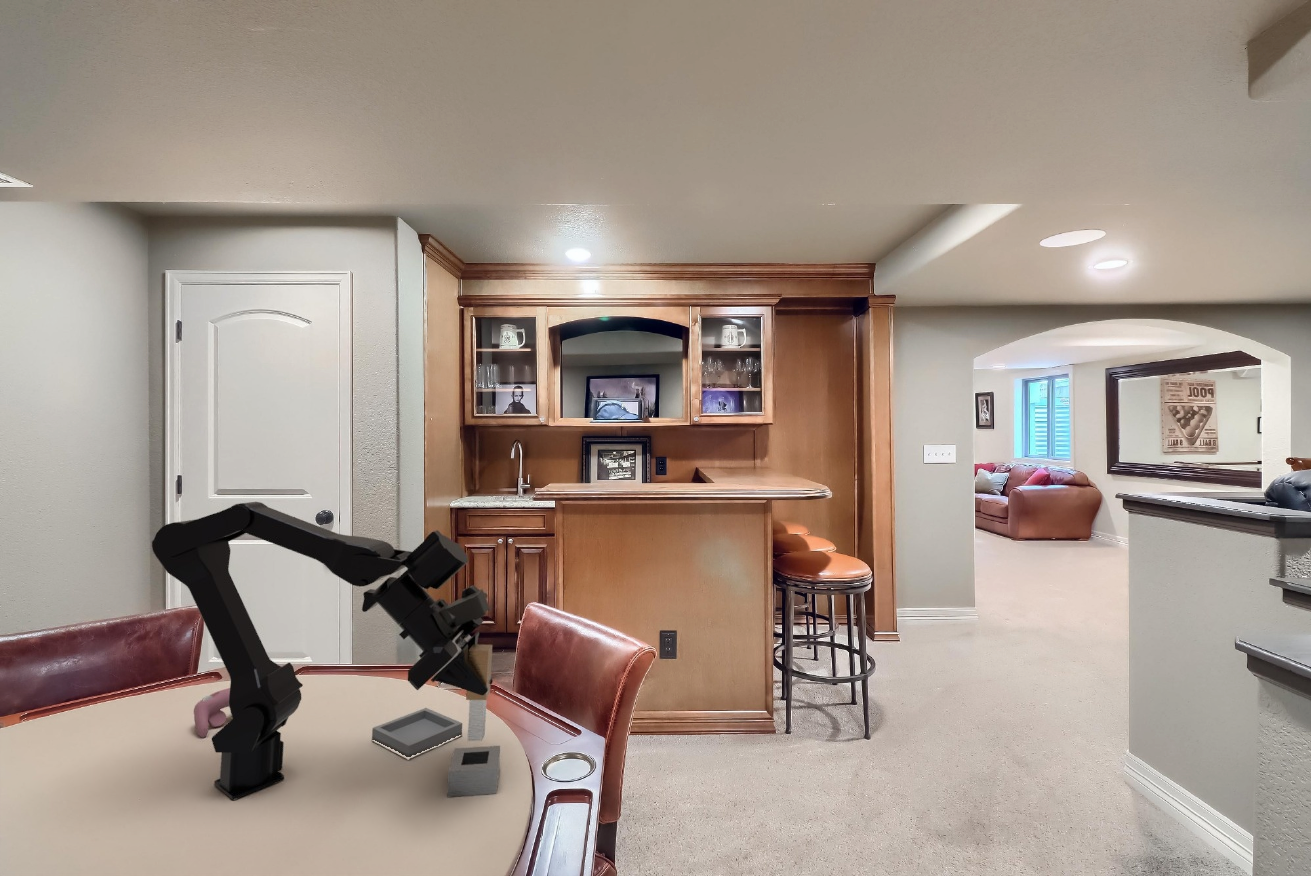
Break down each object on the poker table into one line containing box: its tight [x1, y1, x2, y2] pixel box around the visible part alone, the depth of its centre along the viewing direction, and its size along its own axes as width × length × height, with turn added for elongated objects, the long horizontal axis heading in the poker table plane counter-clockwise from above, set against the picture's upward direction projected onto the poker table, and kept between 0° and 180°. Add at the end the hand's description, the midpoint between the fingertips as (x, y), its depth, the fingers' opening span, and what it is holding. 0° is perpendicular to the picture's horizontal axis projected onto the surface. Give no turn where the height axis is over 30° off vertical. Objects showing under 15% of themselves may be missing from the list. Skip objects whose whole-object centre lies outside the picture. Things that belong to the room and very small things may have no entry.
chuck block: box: [446, 745, 501, 798], centre depth 85 cm, size 7×7×4 cm
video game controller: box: [193, 687, 232, 738], centre depth 100 cm, size 10×5×7 cm, turn 141°
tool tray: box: [371, 707, 463, 757], centre depth 97 cm, size 10×10×2 cm
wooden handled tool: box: [465, 643, 493, 742], centre depth 85 cm, size 3×3×13 cm
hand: (488, 688), depth 85 cm, fingers closed on wooden handled tool, 3 cm apart
